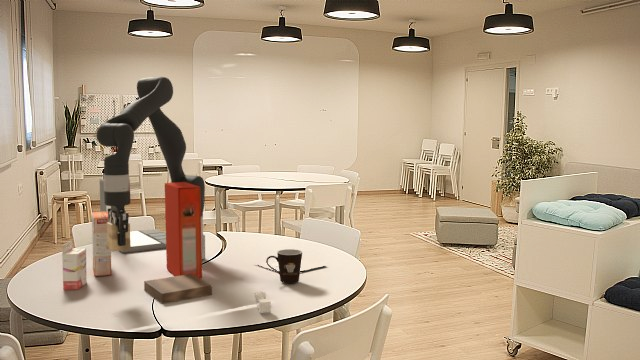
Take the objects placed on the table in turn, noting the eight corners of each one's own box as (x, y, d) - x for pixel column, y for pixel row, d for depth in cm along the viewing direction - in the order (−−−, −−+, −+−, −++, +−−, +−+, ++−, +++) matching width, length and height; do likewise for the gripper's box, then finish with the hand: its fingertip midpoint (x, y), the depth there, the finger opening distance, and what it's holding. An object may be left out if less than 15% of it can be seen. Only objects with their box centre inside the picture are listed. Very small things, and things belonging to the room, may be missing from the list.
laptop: (184, 247, 241) (183, 182, 238) (121, 255, 226) (120, 186, 223) (157, 234, 269) (156, 176, 267) (100, 240, 254) (98, 178, 251)
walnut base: (191, 282, 187) (191, 273, 187) (211, 294, 174) (211, 285, 174) (144, 290, 178) (144, 281, 177) (162, 303, 165) (161, 293, 165)
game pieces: (271, 312, 159) (271, 301, 159) (259, 313, 158) (259, 302, 158) (264, 299, 170) (264, 289, 170) (254, 300, 170) (254, 290, 169)
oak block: (125, 245, 175) (124, 220, 174) (130, 249, 170) (129, 223, 169) (107, 248, 171) (106, 222, 171) (112, 251, 167) (111, 225, 166)
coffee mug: (305, 278, 193) (306, 250, 192) (296, 285, 185) (296, 255, 184) (275, 275, 197) (275, 247, 196) (265, 281, 189) (265, 252, 188)
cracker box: (112, 275, 195) (111, 216, 193) (94, 277, 192) (92, 217, 190) (109, 266, 207) (108, 210, 205) (92, 267, 205) (90, 211, 203)
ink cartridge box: (78, 289, 177) (77, 244, 176) (62, 290, 177) (61, 244, 176) (87, 282, 186) (86, 239, 185) (72, 282, 186) (71, 239, 184)
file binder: (178, 281, 188) (177, 187, 185) (165, 269, 203) (164, 182, 200) (202, 278, 192) (201, 186, 189) (187, 267, 207) (186, 181, 204)
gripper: (137, 191, 165) (138, 246, 167) (122, 186, 177) (124, 238, 179) (111, 192, 161) (112, 249, 163) (98, 187, 173) (99, 241, 174)
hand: (118, 243), depth 171 cm, fingers closed on oak block, 5 cm apart
